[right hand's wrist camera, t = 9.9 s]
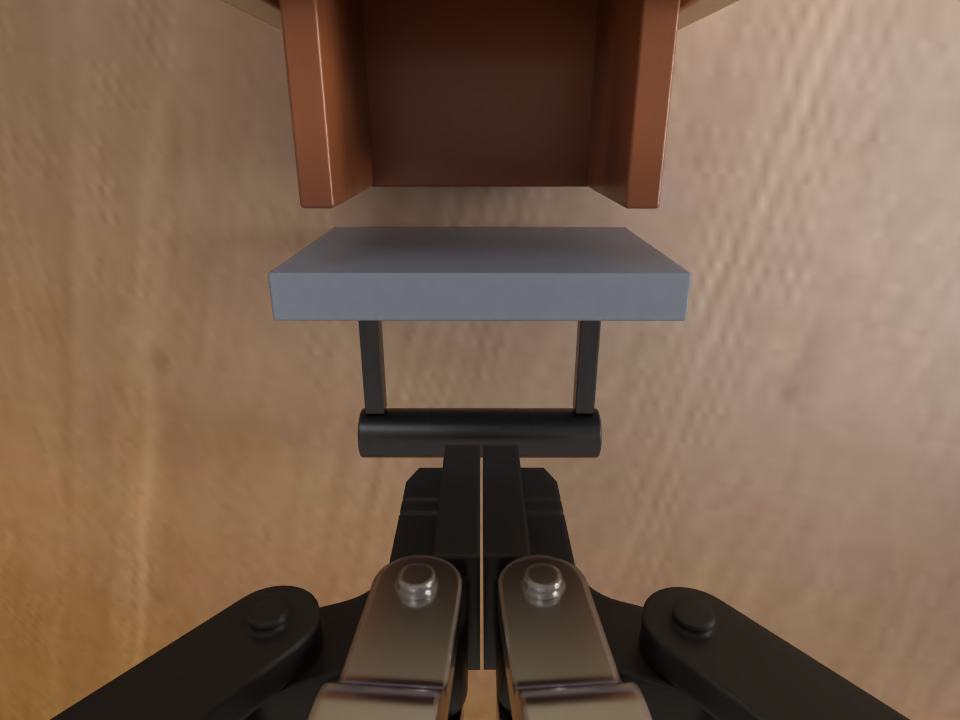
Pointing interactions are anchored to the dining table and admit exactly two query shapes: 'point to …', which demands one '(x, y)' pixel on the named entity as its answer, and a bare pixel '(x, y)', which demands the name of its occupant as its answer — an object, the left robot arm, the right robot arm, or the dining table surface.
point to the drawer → (479, 162)
